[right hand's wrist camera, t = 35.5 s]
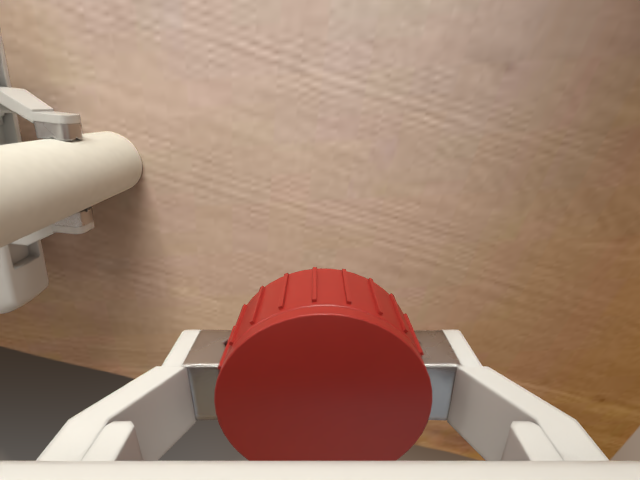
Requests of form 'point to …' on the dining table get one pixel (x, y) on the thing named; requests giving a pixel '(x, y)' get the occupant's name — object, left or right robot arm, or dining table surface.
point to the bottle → (61, 179)
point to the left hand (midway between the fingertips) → (82, 175)
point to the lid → (322, 373)
